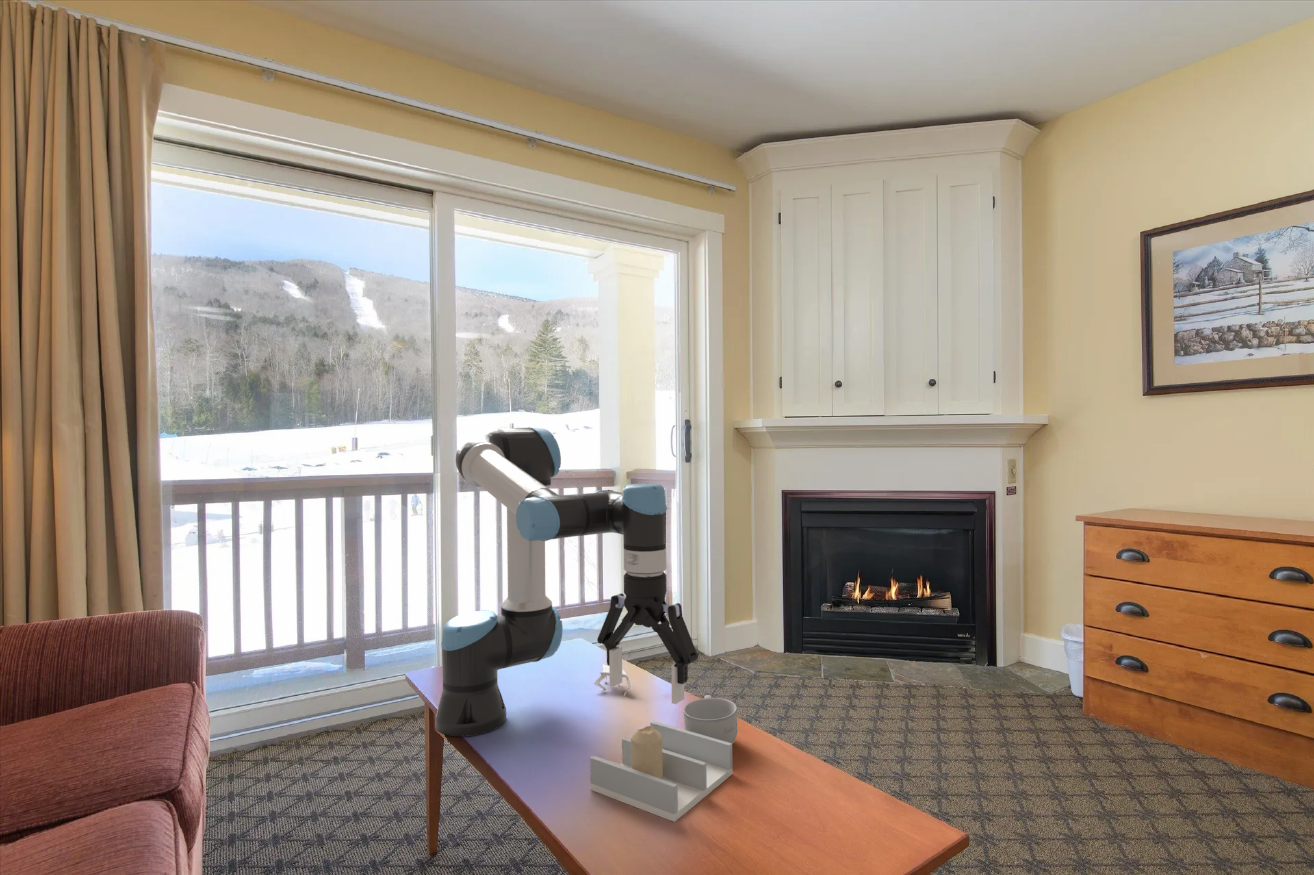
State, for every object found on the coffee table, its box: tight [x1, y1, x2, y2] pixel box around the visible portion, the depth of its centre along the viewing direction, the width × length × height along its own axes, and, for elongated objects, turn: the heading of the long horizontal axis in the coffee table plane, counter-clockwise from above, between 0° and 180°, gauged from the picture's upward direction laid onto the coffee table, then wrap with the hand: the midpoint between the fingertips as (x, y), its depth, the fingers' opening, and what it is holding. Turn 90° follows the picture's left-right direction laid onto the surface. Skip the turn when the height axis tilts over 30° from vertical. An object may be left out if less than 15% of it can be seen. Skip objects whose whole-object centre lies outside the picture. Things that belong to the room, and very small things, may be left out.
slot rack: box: [589, 720, 733, 823], centre depth 126 cm, size 18×19×6 cm
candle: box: [630, 725, 663, 779], centre depth 123 cm, size 6×6×10 cm
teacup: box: [682, 694, 738, 744], centre depth 142 cm, size 14×11×8 cm
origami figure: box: [593, 663, 631, 697], centre depth 171 cm, size 12×8×5 cm
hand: (646, 692), depth 123 cm, fingers open, 13 cm apart
